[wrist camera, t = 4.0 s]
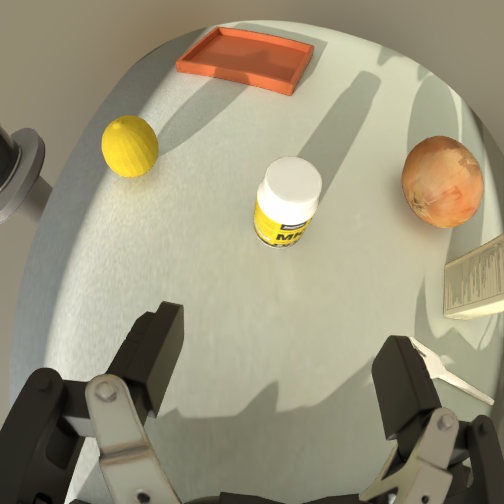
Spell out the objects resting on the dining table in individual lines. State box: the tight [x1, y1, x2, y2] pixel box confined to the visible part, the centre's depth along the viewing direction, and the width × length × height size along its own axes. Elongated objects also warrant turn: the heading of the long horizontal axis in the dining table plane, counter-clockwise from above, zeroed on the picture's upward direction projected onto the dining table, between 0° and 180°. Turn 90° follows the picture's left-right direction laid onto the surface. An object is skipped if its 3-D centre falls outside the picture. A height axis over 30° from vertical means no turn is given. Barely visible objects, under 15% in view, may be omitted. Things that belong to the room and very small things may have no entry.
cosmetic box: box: [444, 233, 504, 320], centre depth 19 cm, size 6×4×12 cm
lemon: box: [102, 115, 158, 178], centre depth 24 cm, size 6×6×8 cm
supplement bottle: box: [253, 156, 322, 249], centre depth 22 cm, size 5×5×8 cm
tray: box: [176, 27, 315, 96], centre depth 33 cm, size 17×13×2 cm
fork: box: [410, 337, 494, 405], centre depth 21 cm, size 3×20×2 cm, turn 58°
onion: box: [402, 136, 483, 228], centre depth 23 cm, size 10×10×10 cm
